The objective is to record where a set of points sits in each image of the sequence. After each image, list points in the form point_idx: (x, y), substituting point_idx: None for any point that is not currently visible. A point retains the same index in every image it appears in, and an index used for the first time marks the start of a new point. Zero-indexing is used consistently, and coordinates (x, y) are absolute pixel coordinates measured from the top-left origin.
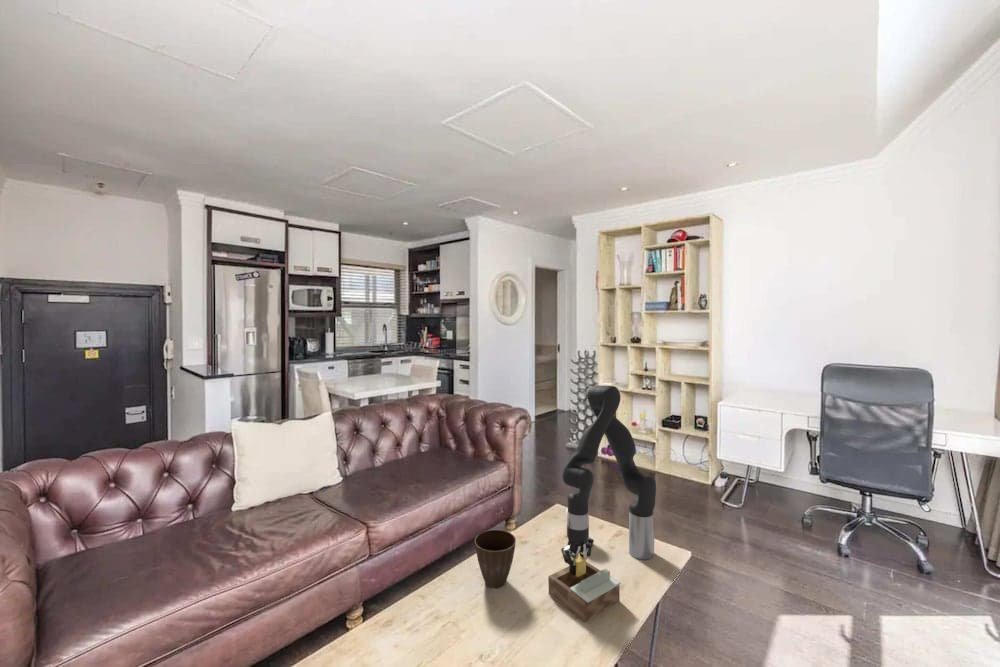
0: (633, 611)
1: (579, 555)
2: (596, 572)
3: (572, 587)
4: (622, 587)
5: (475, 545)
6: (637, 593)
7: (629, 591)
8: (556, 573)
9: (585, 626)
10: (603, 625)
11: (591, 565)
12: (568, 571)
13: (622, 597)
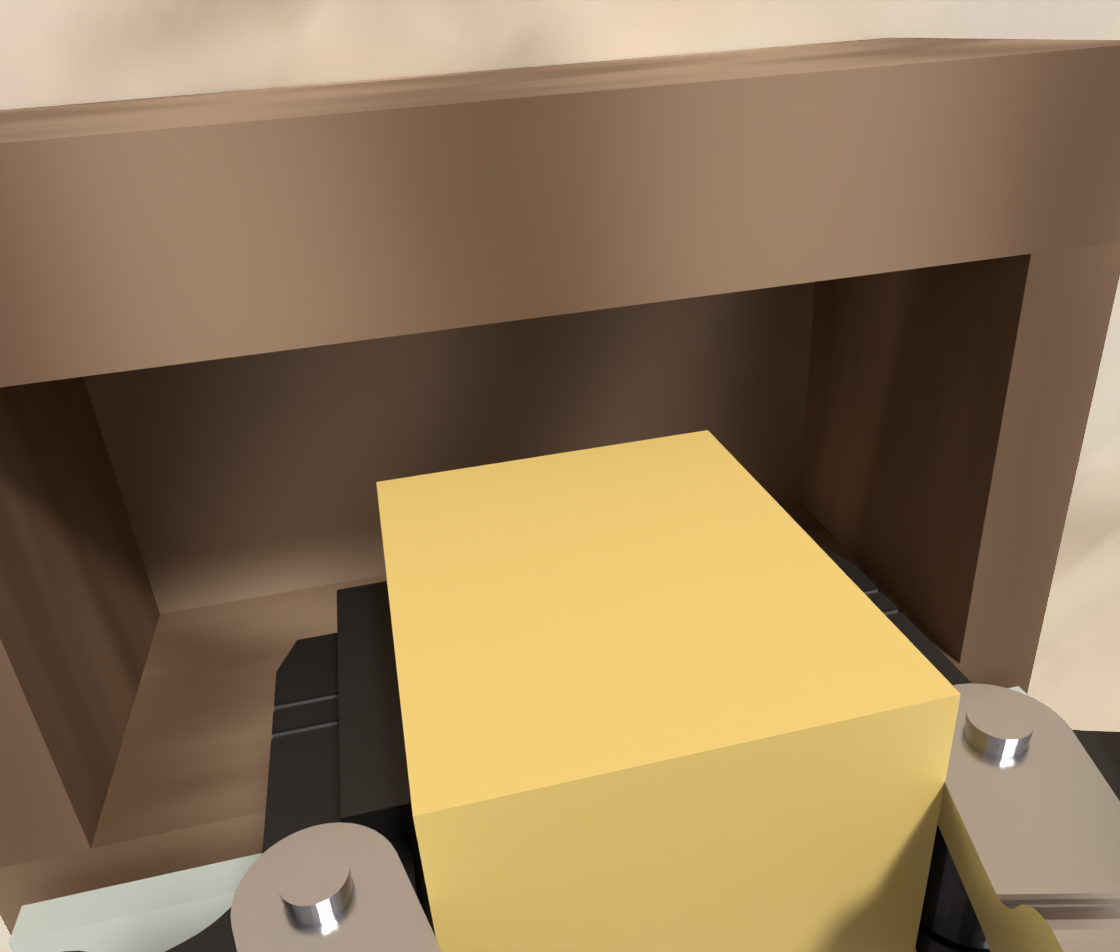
0: None
1: (917, 815)
2: (955, 584)
3: (81, 946)
4: (1067, 556)
5: None
6: (1078, 697)
7: (1053, 642)
8: (14, 198)
9: None
10: None
11: (1081, 384)
12: (443, 304)
13: None
